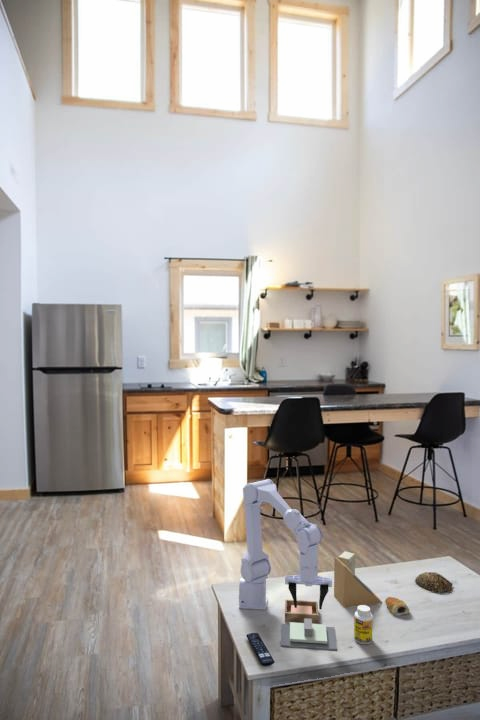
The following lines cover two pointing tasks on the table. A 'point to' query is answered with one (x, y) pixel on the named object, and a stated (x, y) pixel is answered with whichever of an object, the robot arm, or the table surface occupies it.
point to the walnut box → (301, 611)
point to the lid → (308, 632)
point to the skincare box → (348, 560)
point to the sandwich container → (351, 587)
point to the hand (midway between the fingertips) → (307, 607)
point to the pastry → (396, 606)
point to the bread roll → (433, 582)
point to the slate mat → (287, 643)
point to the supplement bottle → (363, 625)
